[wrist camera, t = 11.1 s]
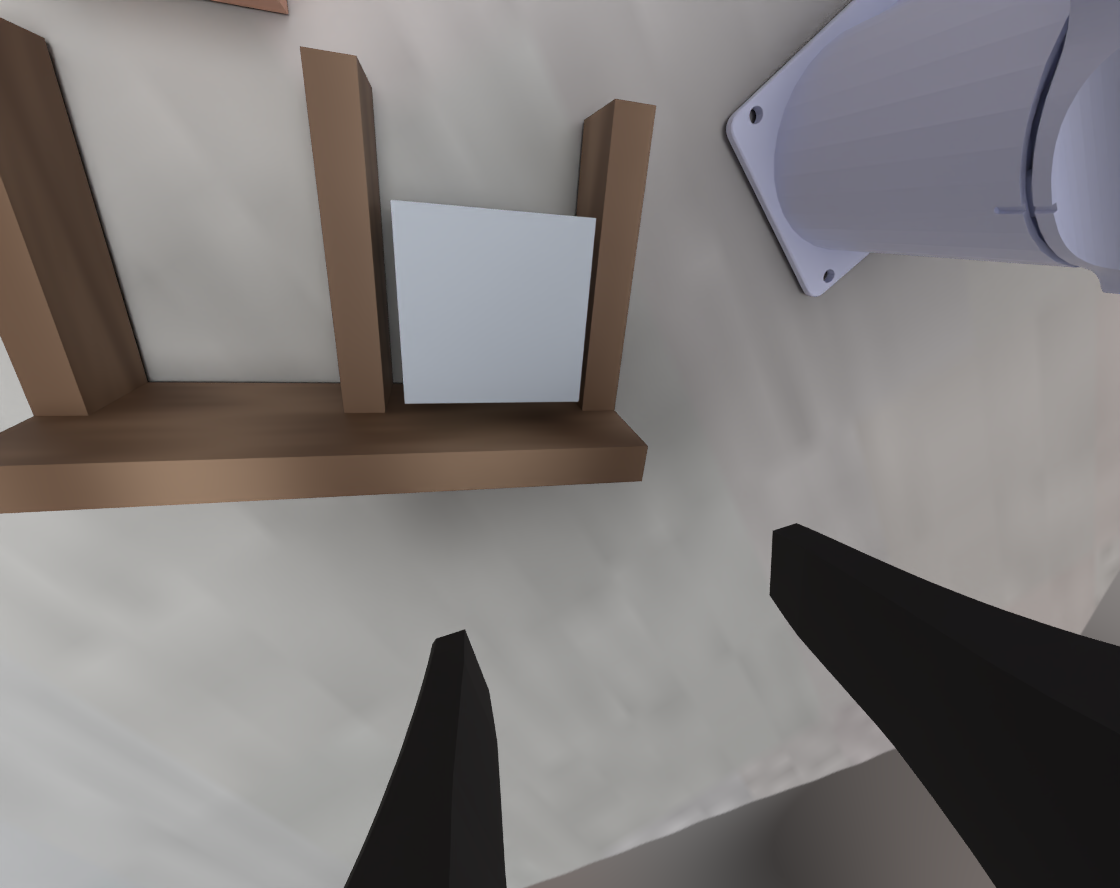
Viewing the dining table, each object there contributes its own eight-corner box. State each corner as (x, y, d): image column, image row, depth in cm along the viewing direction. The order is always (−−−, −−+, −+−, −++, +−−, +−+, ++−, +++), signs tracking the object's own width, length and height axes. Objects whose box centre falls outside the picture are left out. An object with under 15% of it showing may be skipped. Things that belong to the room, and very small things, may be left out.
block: (552, 218, 16) (596, 218, 12) (544, 358, 18) (578, 401, 14) (403, 205, 15) (390, 199, 11) (412, 356, 17) (404, 403, 13)
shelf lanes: (618, 125, 15) (712, 75, 10) (586, 411, 20) (641, 480, 14) (-17, 28, 11) (-407, -137, 6) (115, 416, 16) (-48, 515, 10)
